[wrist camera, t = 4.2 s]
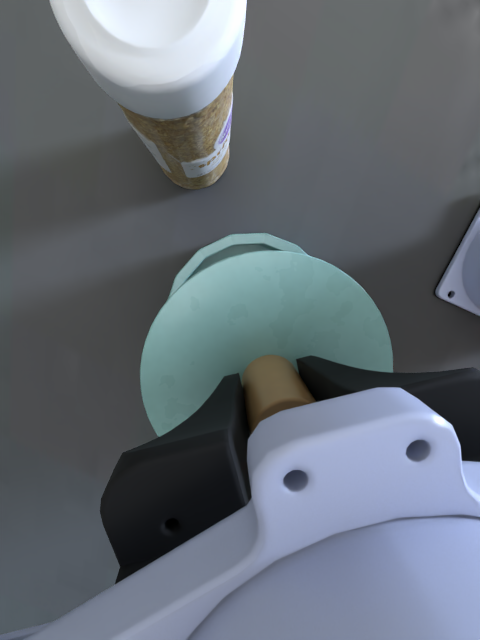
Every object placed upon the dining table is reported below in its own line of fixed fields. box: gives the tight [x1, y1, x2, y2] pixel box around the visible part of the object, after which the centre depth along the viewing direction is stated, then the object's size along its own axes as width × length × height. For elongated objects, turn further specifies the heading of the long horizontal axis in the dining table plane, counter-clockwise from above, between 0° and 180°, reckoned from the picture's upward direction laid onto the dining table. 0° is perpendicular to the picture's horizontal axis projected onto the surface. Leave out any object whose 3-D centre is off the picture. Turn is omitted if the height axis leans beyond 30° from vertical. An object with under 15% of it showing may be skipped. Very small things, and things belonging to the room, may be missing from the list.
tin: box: [168, 233, 307, 299], centre depth 21 cm, size 10×10×4 cm
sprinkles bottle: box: [49, 0, 247, 189], centre depth 13 cm, size 5×5×13 cm
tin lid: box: [140, 250, 393, 437], centre depth 12 cm, size 11×11×5 cm
